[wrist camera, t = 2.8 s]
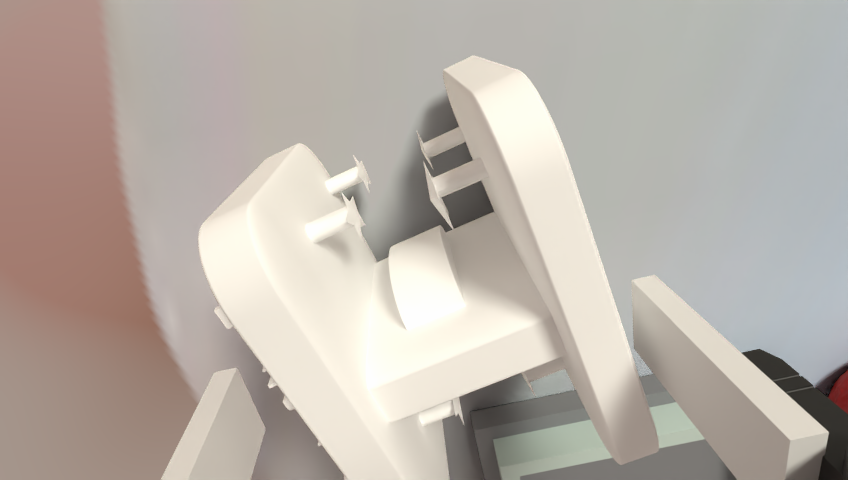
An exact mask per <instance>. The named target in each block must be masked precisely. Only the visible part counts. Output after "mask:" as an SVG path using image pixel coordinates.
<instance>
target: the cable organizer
mask: <svg viewBox="0 0 848 480" xmlns="http://www.w3.org/2000/svg"><path fill="white" fill-rule="evenodd" d="M443 79H444V84H445V88H446V91H447V95H448V98H449V101H450V104H451V107H452V110H453V112H454V115H455V117H456V120H457V122H458V125H459V127H457V128H455V129H453V130H451V131H449V132H447V133H444V134H442V135H440V136H438V137H436V138H433V139H431V140H429V141H427V142H425V143H423V141H422V139H421V138H420V136H419V134H418V132H417V135H418V139H419V143H420V147H421V151H422V153H423V154H424V156H425V158H426V159H427V161H428V162H429V164H430V165H431V167H432V164H431V160H430V158H431V157H433V156H436V155H438V154H440V153H442V152H444V151H447V150H449V149H451V148H453V147H455V146H458V145H460V144H462V143H464V142H466V144H467V147H468V149H469V152H470V154H471V156H472V159H473V161H470V162H468V163H466V164H463V165H461V166H459V167H457V168H454V169H452V170H450V171H447V172H445V173H443V174H441V175H438V176H436V177H434V178H433V176H432V177H431V175H430V173H429V171H428V169H427V167H426V165H425V163H424V167H425V173H426V179H427V185H428V190H429V196H430V201H431V202H432V203H433V204H434V206H435V207H436V208H437V210H438V211H439V212H440V214H441V215H442V216H443V217H444V219H445V220H446V221H447V223H448V224H449V225H450V227H451V228H452V230H450V231H448V232H446V233H445V231H444V229H443V227H442V226H441V225H439V226H437V227H434V228H432V229H430V230H428V231H425V232H423V233H421V234H418V235H416V236H414V237H411V238H409V239H407V240H405V241H402V242H400V243H398V244H395V245H393V246H391V248H390V250H389V257H388V258H386V259H383V260H381V261H379V262H377V260H376V259H375V257H374V255H373V253H372V251H371V249H370V248H369V246H368V244H367V242H366V240H365V239H364V237H363V235H362V233H361V227H362V226H365V224H364V222H363V220H362V218H361V217H360V215H359V213H358V210H357V207H356V204H355V201H354V198H353V196H352V198H351V200H350V202H349V200H348V199H347V198H346V197H345V196H344V194H343V193H342V192H341V193H342V196H343V199H344V201H345V202H344V201H343V199H342V197H341V195H340V193H339V192H340V191H343V190H345V189H347V188H349V187H351V186H353V185H356V184H358V183H360V182H362V181H364V183H365V185H366V187H367V189H368V191H369V185H368V183H371V181H370V179H369V177H368V175H367V172H366V170H365V167H364V165H363V163H362V160H361V162H360V163H359V162H358V160H357V159H356V158H355V156H354V155H353V156H354V159H355V161H356V164H357V166H356V167H354V168H352V169H349V170H347V171H345V172H343V173H341V174H339V175H336V176H334V177H332V178H331V177H330V176H329V174H328V172H327V171H326V169H325V168H324V166H323V165H322V163H321V162H320V161H319V159H318V158H317V157H316V156H315V154H314V153H313V152H312V151H311V150H310V149H309V148H308V147H306V146H305V145H303V144H301V143H298V144H296V145H294V146H292V147H290V148H288V149H285V150H283V151H281V152H279V153H277V154H275V155H273V156H271V157H269V158H267V159H265V160H264V161H263V162H262V163H261V165H260V166H259V167H258V168H257V169H256V170H255V171H254V172H253V173H252V174H251V175H250V176H249V177H248V178H247V179H246V180H245V181H244V182H243V183H242V184H241V185H240V186H239V187H238V188H237V189H236V190H235V191H234V192H233V193H232V194H231V195H230V196H229V197H228V198H227V199H226V200H225V201H224V202H223V203H222V204H221V205H220V206H219V207H218V208H217V209H216V210H215V211H214V212H213V213H212V214H211V215H210V216H209V217H208V218H207V219H206V220H205V221H204V223H203V224H202V226H201V227H200V230H199V234H198V248H199V256H200V260H201V264H202V267H203V271H204V273H205V276H206V279H207V281H208V284H209V286H210V288H211V290H212V292H213V295H214V297H215V298H216V300H217V302H218V304H219V305H220V306H218V307H216V308H215V310H214V312H215V313H216V314H217V316H218V317H219V318H220V320H221V321H222V322H223V324H224V325H225V326H226V328H227V329H229V328H231V327H234V328H235V329H236V330H237V332H238V333H239V334H240V336H241V337H242V338H243V340H244V341H245V343H246V344H247V345H248V347H249V348H250V349H251V351H252V352H253V353H254V355H255V356H256V357H257V359H258V360H259V361H260V363H261V364H262V365H263V370H262V371H263V373H264V372H266V371H267V372H268V373H269V375H270V376H271V377H270V380H269V383H268V387H269V388H272V387H274V386H278V387H279V388H280V390H281V391H282V392H283V394H284V395H285V396H284V399H283V403H284V405H285V406H286V407H287V409H288V410H294V409H295V410H296V411H297V412H298V414H299V415H300V416H301V418H302V419H303V420H304V422H305V423H306V425H307V426H308V427H309V429H310V430H311V431H312V433H313V434H314V435H315V437H316V438H317V439H318V446H321V445H322V446H323V447H324V449H325V450H326V451H327V453H328V454H329V455H330V457H331V458H332V459H333V461H334V462H335V464H336V465H337V466H338V468H339V469H340V470H341V472H342V473H343V474H344V480H450V478H449V470H448V462H447V454H446V446H445V438H444V430H443V422H442V419H444V418H447V417H449V416H452V415H454V414H455V415H456V416H457V414H459V416H460V418H461V420H462V422H463V424H464V421H463V416H462V411H461V406H460V401H459V399H460V398H459V397H460V396H463V395H465V394H468V393H470V392H473V391H476V390H478V389H481V388H483V387H486V386H488V385H491V384H493V383H496V382H499V381H501V380H504V379H506V378H509V377H511V376H514V375H517V374H519V373H521V374H522V375H523V377H524V379H525V380H526V382H527V384H528V385H529V387H530V389H531V390H532V392H533V394H534V391H533V389H532V387H531V384H530V382H531V381H534V380H537V379H539V378H542V377H544V376H547V375H550V374H552V373H555V372H557V371H560V370H563V369H565V370H566V372H567V374H568V376H569V378H570V380H571V382H572V383H573V385H574V387H575V389H576V391H577V393H578V395H579V397H580V399H581V401H582V403H583V405H584V407H585V409H586V411H587V413H588V415H589V417H590V419H591V421H592V423H593V425H594V427H595V429H596V431H597V433H598V435H599V436H600V438H601V440H602V442H603V443H604V445H605V447H606V448H607V450H608V451H609V453H610V454H611V456H612V457H613V458H614V460H615V461H616V462H617V463H618V464H620V465H623V464H626V463H628V462H631V461H634V460H637V459H640V458H643V457H645V456H648V455H651V454H654V453H657V452H658V451H659V440H658V435H657V431H656V427H655V424H654V421H653V418H652V415H651V411H650V408H649V405H648V402H647V399H646V396H645V393H644V390H643V387H642V384H641V381H640V378H639V375H638V372H637V369H636V365H635V362H634V359H633V356H632V353H631V350H630V347H629V344H628V341H627V338H626V335H625V332H624V329H623V326H622V323H621V320H620V316H619V313H618V310H617V307H616V304H615V301H614V298H613V295H612V292H611V289H610V286H609V283H608V280H607V277H606V274H605V270H604V267H603V264H602V261H601V258H600V255H599V252H598V249H597V246H596V243H595V240H594V237H593V234H592V231H591V228H590V225H589V221H588V218H587V215H586V212H585V209H584V206H583V203H582V200H581V197H580V194H579V191H578V188H577V185H576V182H575V179H574V175H573V172H572V169H571V166H570V163H569V160H568V157H567V154H566V152H565V149H564V146H563V144H562V141H561V139H560V136H559V134H558V131H557V129H556V127H555V124H554V122H553V120H552V118H551V116H550V114H549V112H548V110H547V108H546V106H545V104H544V102H543V100H542V98H541V97H540V95H539V93H538V92H537V90H536V88H535V87H534V85H533V84H532V83H531V81H530V80H529V79H528V78H527V76H526V75H525V74H524V73H522V72H521V71H519V70H517V69H514V68H511V67H508V66H505V65H502V64H499V63H495V62H492V61H489V60H486V59H483V58H480V57H477V56H471V57H469V58H467V59H465V60H463V61H460V62H458V63H456V64H454V65H452V66H450V67H448V68H446V69H444V70H443ZM416 131H417V130H416ZM423 162H424V161H423ZM432 169H433V167H432ZM433 170H434V169H433ZM479 181H482V183H483V185H484V188H485V190H486V193H487V195H488V198H489V200H490V202H491V205H492V207H493V210H494V212H492V213H490V214H487V215H485V216H482V217H480V218H478V219H476V220H473V221H471V222H469V223H466V224H464V225H462V226H459V227H457V228H455V229H453V226H452V224H451V221H450V218H449V216H448V214H449V213H448V211H447V208H446V206H445V204H444V202H443V200H442V198H441V197H444V196H446V195H448V194H451V193H453V192H455V191H458V190H460V189H462V188H465V187H467V186H469V185H472V184H474V183H476V182H479ZM369 194H370V192H369ZM534 395H535V394H534ZM535 397H536V396H535Z"/></svg>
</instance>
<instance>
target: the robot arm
mask: <svg viewBox="0 0 848 480" xmlns="http://www.w3.org/2000/svg"><path fill="white" fill-rule="evenodd" d="M631 284H632V311H633V338H634V349H635V350H636V352H637V353H638V354H639V355H640V357H641V358H642V359H643V361H644V362H645V363H646V364H647V366H648V367H649V368H650V369H651V371H652V372H653V373H654V375H655V376H656V377H657V378H658V380H659V381H660V382H661V383H662V385H663V386H664V387H665V389H666V390H667V391H668V392H669V394H670V395H671V396H672V397H673V399H674V400H675V401H676V403H677V404H678V405H679V406H680V408H681V409H682V410H683V411H684V413H685V414H686V415H687V417H688V418H689V419H690V420H691V422H692V423H693V424H694V425H695V427H696V428H697V429H698V431H699V432H700V433H701V434H702V436H703V437H704V438H705V439H706V441H707V442H708V443H709V445H710V446H711V447H712V448H713V450H714V451H715V452H716V453H717V455H718V456H719V457H720V459H721V460H722V461H723V462H724V464H725V465H726V466H727V467H728V469H729V470H730V471H731V473H732V474H733V475H734V476H735V478H736V479H737V480H848V414H847V413H846V412H845V411H844V410H842V409H841V408H840V407H839V406H838V405H836V404H835V403H834V402H833V401H831V400H830V399H829V398H828V397H827V396H825V395H824V394H823V393H822V392H821V391H819V390H818V389H817V388H814V387H813V385H812V384H811V383H810V382H808V381H807V380H806V379H805V378H804V377H802V376H801V377H800V376H799V373H798V372H796V371H795V370H794V369H793V368H792V367H790V366H789V365H788V364H787V363H785V362H784V361H783V360H782V359H780V358H778V357H775V356H773V355H771V354H769V353H767V352H765V351H763V350H761V349H757V350H752V351H748V352H743V353H741V352H740V351H739V350H737V349H736V348H735V347H734V346H733V345H732V344H731V343H730V342H729V341H727V340H726V339H725V338H724V337H723V336H722V335H721V334H720V333H719V332H717V331H716V330H715V329H714V328H713V327H712V326H711V325H710V324H709V323H708V322H706V321H705V320H704V319H703V318H702V317H701V316H700V315H699V314H698V313H696V312H695V311H694V310H693V309H692V308H691V307H690V306H689V305H688V304H686V303H685V302H684V301H683V300H682V299H681V298H680V297H679V296H678V295H676V294H675V293H674V292H673V291H672V290H671V289H670V288H669V287H668V286H667V285H665V284H664V283H663V282H662V281H661V280H660V279H659V278H658V277H657V276H655V275H652V276H647V277H643V278H638V279H634V280H631ZM265 430H266V428H265V426H264V424H263V422H262V420H261V418H260V416H259V413H258V411H257V409H256V407H255V405H254V403H253V400H252V398H251V396H250V394H249V392H248V390H247V388H246V385H245V383H244V381H243V379H242V377H241V375H240V373H239V370H238V368H232V369H228V370H223V371H219V372H214V374H213V376H212V378H211V380H210V382H209V384H208V386H207V388H206V390H205V392H204V394H203V396H202V398H201V400H200V402H199V404H198V406H197V408H196V410H195V412H194V414H193V416H192V419H191V421H190V422H189V424H188V426H187V428H186V430H185V432H184V435H183V436H182V438H181V440H180V442H179V444H178V446H177V448H176V450H175V452H174V454H173V456H172V458H171V461H170V462H169V464H168V467H167V468H166V470H165V472H164V474H163V476H162V479H161V480H251V477H252V473H253V470H254V467H255V463H256V460H257V457H258V453H259V450H260V447H261V443H262V440H263V437H264V433H265Z"/></svg>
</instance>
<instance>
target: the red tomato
mask: <svg viewBox="0 0 848 480" xmlns="http://www.w3.org/2000/svg"><path fill="white" fill-rule="evenodd" d="M828 398H829V399H830V400H831V401H833V402H834V403H835V404H836V405H838V406H839V407H840V408H841V409H842V410H844V411H845V412H846V413H847V414H848V370H847V371H846V372H845V373H844V374H842V375H841V376H840V377H839V379H838V380H837V381H836V382H835V384H834V386H833V388H832V389H831V391H830V394H829V396H828Z"/></svg>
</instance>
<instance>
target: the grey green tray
mask: <svg viewBox="0 0 848 480" xmlns="http://www.w3.org/2000/svg"><path fill="white" fill-rule="evenodd" d="M639 378H640V381H641V384H642V387H643V390H644V393H645V396H646V399H647V402H648V405H649V408H650V411H651V415H652V418H653V421H654V424H655V427H656V431H657V435H658V440H659V451H658V452H657V453H654V454H651V455H648V456H645V457H643V458H640V459H637V460H634V461H631V462H628V463H626V464H623V465H620V464H618V463H617V462H616V461H615V460H614V458H613V457H612V456H611V454H610V453H609V451H608V450H607V448H606V447H605V445H604V443H603V442H602V440H601V438H600V436H599V435H598V433H597V431H596V429H595V427H594V425H593V423H592V421H591V419H590V417H589V415H588V413H587V411H586V409H585V407H584V405H583V403H582V401H581V399H580V397H579V395H578V393H577V391H576V390H574V391H569V392H564V393H560V394H555V395H550V396H545V397H540V398H535V399H530V400H526V401H521V402H516V403H511V404H506V405H501V406H496V407H492V408H487V409H482V410H477V411H472V412H470V415H471V420H472V425H473V430H474V434H475V439H476V443H477V448H478V452H479V457H480V461H481V465H482V470H483V474H484V479H485V480H737V479H736V478H735V476H734V475H733V474H732V473H731V471H730V470H729V469H728V467H727V466H726V465H725V464H724V462H723V461H722V460H721V459H720V457H719V456H718V455H717V453H716V452H715V451H714V450H713V448H712V447H711V446H710V445H709V443H708V442H707V441H706V439H705V438H704V437H703V436H702V434H701V433H700V432H699V431H698V429H697V428H696V427H695V425H694V424H693V423H692V422H691V420H690V419H689V418H688V417H687V415H686V414H685V413H684V411H683V410H682V409H681V408H680V406H679V405H678V404H677V403H676V401H675V400H674V399H673V397H672V396H671V395H670V394H669V392H668V391H667V390H666V389H665V387H664V386H663V385H662V383H661V382H660V381H659V380H658V378H657V377H656V376H655V375H654V374H652V375H647V376H642V377H639Z"/></svg>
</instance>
